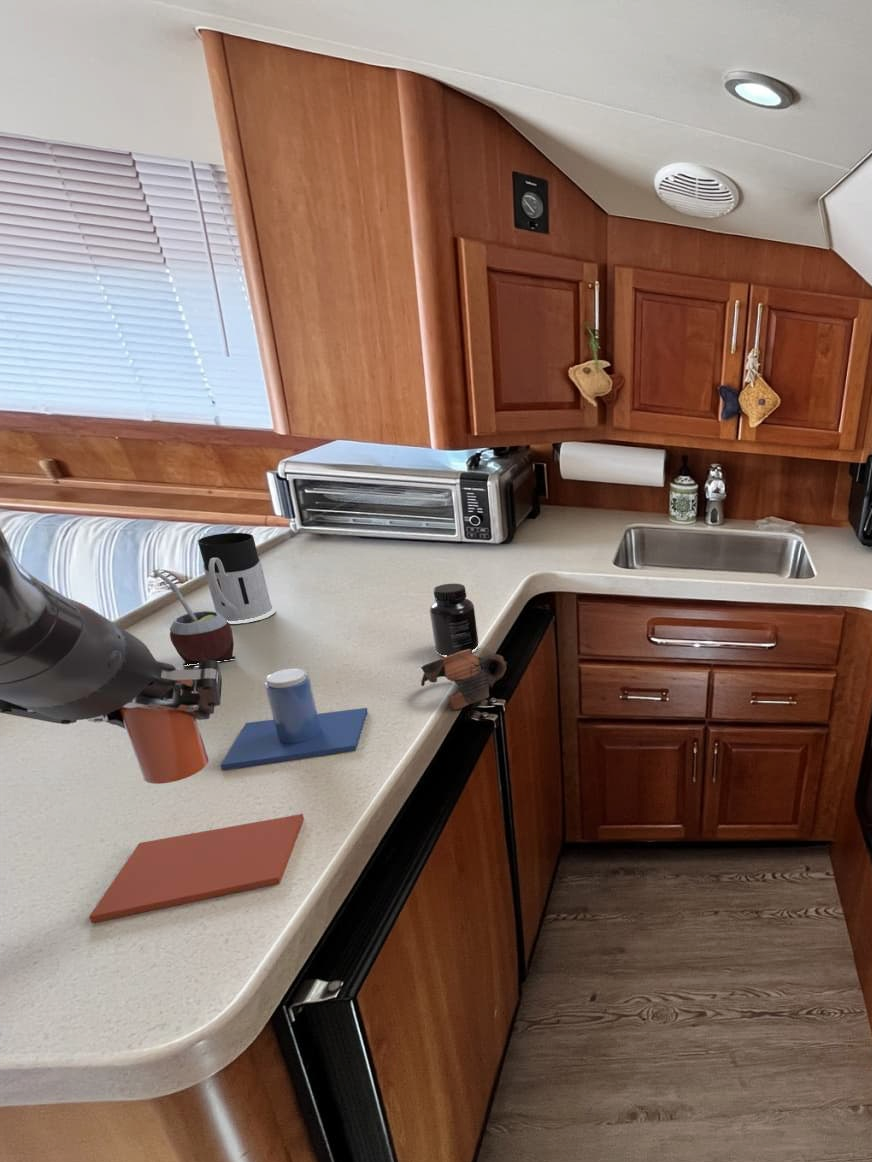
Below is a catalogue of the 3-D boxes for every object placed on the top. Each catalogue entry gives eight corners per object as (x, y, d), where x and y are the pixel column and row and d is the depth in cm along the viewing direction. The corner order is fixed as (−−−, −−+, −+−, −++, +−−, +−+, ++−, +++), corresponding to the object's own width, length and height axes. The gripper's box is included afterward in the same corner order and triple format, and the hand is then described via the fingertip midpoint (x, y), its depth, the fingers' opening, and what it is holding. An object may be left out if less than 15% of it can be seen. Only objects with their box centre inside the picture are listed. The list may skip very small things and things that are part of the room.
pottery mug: (433, 720, 93) (410, 669, 92) (440, 715, 102) (420, 668, 101) (516, 686, 98) (495, 637, 97) (517, 684, 106) (497, 639, 106)
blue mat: (221, 770, 79) (220, 765, 78) (247, 727, 87) (246, 722, 87) (355, 750, 84) (354, 745, 84) (367, 712, 93) (367, 707, 93)
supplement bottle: (484, 642, 116) (477, 581, 112) (472, 659, 110) (465, 595, 106) (443, 642, 115) (435, 580, 111) (429, 659, 109) (420, 594, 104)
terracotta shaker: (133, 788, 58) (103, 703, 55) (155, 759, 62) (128, 679, 59) (198, 778, 60) (172, 696, 57) (216, 751, 64) (192, 672, 61)
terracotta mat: (91, 923, 58) (88, 917, 58) (141, 848, 67) (139, 842, 66) (280, 883, 64) (278, 877, 64) (304, 818, 72) (303, 813, 72)
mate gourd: (234, 668, 101) (210, 580, 95) (167, 677, 97) (137, 586, 91) (242, 649, 107) (220, 565, 101) (179, 656, 103) (152, 569, 97)
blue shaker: (274, 746, 83) (258, 686, 79) (283, 727, 86) (268, 669, 83) (317, 740, 84) (303, 681, 81) (324, 722, 88) (311, 665, 85)
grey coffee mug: (281, 604, 124) (263, 530, 118) (260, 634, 112) (240, 553, 106) (223, 608, 120) (202, 532, 115) (196, 640, 108) (171, 556, 103)
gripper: (186, 601, 51) (265, 667, 65) (-77, 618, 45) (74, 687, 59) (177, 691, 48) (261, 739, 63) (-103, 721, 42) (61, 766, 57)
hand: (170, 713), depth 61 cm, fingers closed on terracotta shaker, 4 cm apart
